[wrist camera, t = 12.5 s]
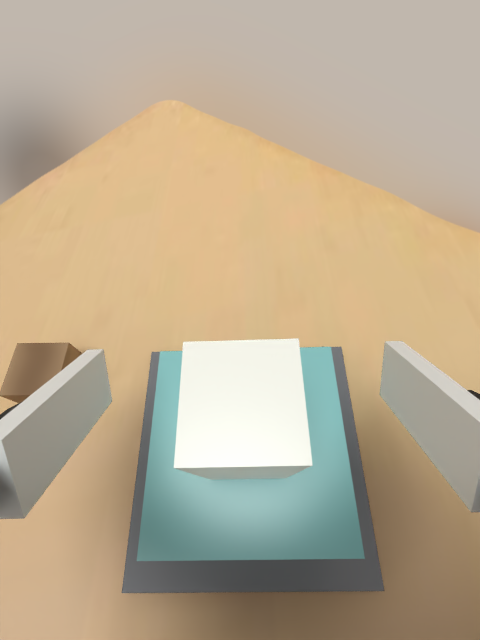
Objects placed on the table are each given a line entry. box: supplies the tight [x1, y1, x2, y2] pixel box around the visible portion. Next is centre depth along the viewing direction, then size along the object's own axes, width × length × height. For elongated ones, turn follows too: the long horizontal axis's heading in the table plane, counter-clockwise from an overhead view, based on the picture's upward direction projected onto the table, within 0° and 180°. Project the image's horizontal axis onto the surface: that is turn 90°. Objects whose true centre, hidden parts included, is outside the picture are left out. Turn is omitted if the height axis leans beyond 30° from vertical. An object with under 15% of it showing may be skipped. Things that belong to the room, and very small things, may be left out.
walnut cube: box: [0, 343, 82, 403], centre depth 25 cm, size 4×4×4 cm
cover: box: [137, 339, 365, 561], centre depth 17 cm, size 11×11×15 cm
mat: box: [122, 347, 384, 593], centre depth 24 cm, size 16×16×1 cm
